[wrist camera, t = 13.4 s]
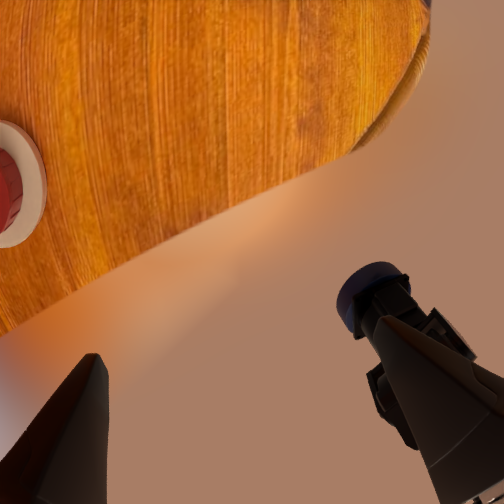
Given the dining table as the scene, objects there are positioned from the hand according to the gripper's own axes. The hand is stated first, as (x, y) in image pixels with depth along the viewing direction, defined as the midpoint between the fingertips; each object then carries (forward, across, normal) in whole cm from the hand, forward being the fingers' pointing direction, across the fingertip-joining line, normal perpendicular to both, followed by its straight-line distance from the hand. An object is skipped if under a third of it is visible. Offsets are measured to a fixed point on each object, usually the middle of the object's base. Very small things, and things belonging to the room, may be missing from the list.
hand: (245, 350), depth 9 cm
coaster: (+12, +15, -4) cm, 19 cm away
